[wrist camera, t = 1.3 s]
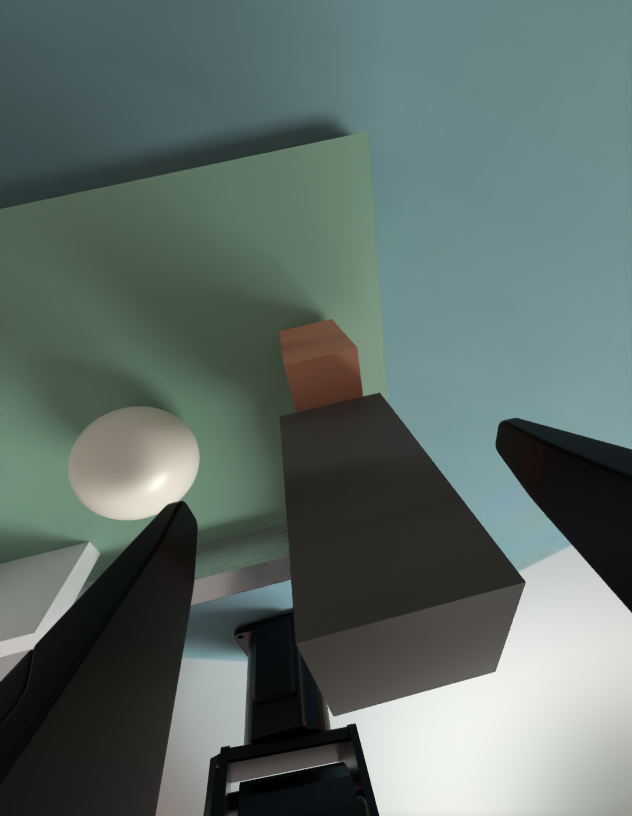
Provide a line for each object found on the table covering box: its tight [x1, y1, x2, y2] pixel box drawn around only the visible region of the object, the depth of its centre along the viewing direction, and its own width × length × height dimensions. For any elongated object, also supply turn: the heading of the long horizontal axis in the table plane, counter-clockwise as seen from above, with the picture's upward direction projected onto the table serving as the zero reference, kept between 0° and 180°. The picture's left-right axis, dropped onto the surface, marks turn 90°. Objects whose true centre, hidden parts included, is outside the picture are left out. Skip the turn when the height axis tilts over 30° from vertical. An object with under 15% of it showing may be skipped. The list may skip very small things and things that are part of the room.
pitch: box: [0, 131, 388, 572], centre depth 13 cm, size 18×22×1 cm
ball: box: [68, 406, 200, 520], centre depth 10 cm, size 4×4×4 cm
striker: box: [279, 319, 526, 716], centre depth 10 cm, size 13×3×9 cm, turn 13°
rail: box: [73, 523, 291, 605], centre depth 16 cm, size 2×21×2 cm, turn 102°
